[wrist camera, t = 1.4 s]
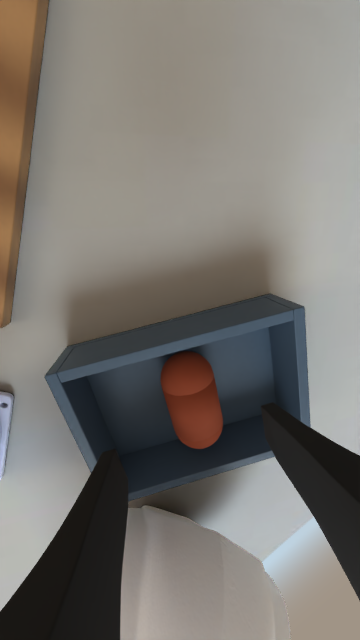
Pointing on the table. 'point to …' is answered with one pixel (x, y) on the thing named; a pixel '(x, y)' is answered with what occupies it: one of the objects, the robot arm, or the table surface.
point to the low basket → (148, 398)
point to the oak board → (16, 126)
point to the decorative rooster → (194, 584)
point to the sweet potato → (192, 399)
